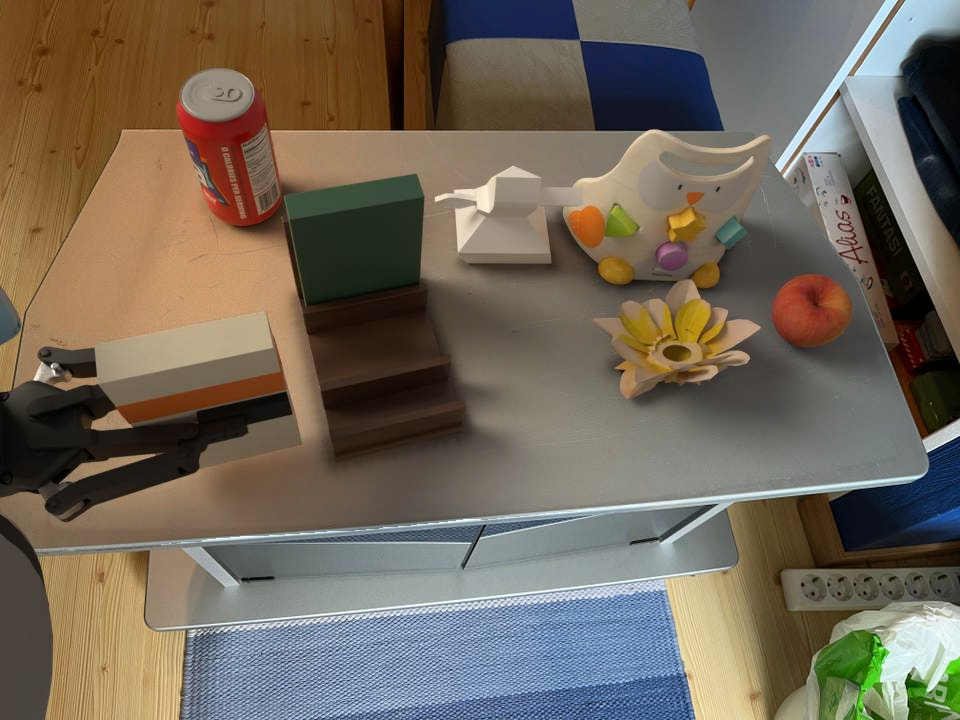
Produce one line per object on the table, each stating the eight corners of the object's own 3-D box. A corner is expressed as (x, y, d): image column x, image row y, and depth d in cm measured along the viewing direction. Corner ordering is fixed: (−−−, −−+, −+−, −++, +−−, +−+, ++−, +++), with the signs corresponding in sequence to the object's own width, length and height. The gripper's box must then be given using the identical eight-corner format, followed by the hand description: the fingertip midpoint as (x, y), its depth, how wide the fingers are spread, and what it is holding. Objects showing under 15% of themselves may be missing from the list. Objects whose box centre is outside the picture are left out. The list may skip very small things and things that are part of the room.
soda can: (278, 233, 78) (255, 128, 65) (202, 228, 78) (163, 121, 64) (287, 176, 82) (267, 65, 69) (214, 171, 81) (179, 58, 68)
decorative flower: (712, 277, 79) (755, 241, 69) (748, 378, 77) (797, 355, 67) (580, 309, 77) (606, 276, 67) (613, 414, 75) (644, 395, 65)
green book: (419, 301, 75) (424, 196, 61) (309, 323, 72) (289, 220, 58) (412, 280, 76) (416, 172, 62) (304, 301, 73) (283, 194, 59)
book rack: (462, 431, 70) (476, 368, 58) (336, 462, 67) (323, 402, 56) (413, 276, 78) (417, 192, 66) (298, 298, 75) (280, 215, 63)
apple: (838, 335, 80) (882, 295, 73) (799, 373, 77) (840, 335, 70) (785, 289, 82) (822, 246, 75) (744, 325, 79) (779, 284, 72)
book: (303, 445, 65) (274, 348, 49) (171, 476, 63) (96, 385, 47) (296, 413, 67) (266, 309, 51) (167, 443, 64) (93, 343, 48)
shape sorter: (569, 287, 79) (612, 172, 63) (561, 208, 84) (599, 84, 68) (746, 292, 81) (831, 182, 65) (728, 215, 86) (803, 96, 70)
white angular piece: (430, 209, 82) (436, 115, 70) (554, 211, 83) (582, 119, 71) (433, 273, 78) (440, 185, 66) (563, 273, 80) (594, 188, 68)
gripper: (-27, 378, 59) (273, 319, 64) (-26, 579, 52) (310, 493, 57) (-81, 332, 52) (260, 269, 57) (-86, 554, 45) (299, 460, 51)
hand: (284, 381), depth 57 cm, fingers closed on book, 3 cm apart
